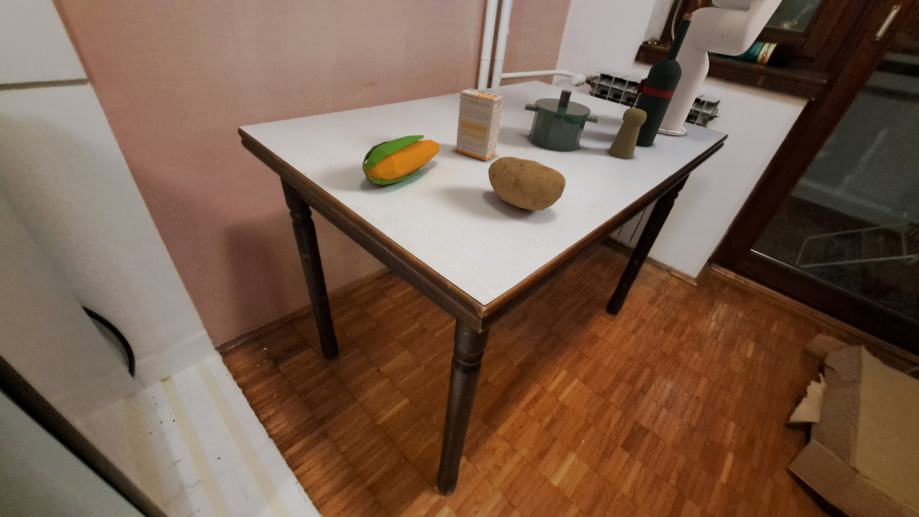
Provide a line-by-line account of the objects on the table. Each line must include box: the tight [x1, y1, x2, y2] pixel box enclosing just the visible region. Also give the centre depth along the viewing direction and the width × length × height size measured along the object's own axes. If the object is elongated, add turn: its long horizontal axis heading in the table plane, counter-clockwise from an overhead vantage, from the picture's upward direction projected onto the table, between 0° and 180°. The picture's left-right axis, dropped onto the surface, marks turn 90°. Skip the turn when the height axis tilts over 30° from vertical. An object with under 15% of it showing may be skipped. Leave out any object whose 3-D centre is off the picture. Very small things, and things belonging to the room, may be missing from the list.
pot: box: [524, 103, 599, 152], centre depth 93 cm, size 13×18×8 cm
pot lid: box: [534, 89, 592, 117], centre depth 89 cm, size 14×14×5 cm
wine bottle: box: [620, 12, 694, 148], centre depth 93 cm, size 8×10×30 cm
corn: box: [361, 134, 441, 186], centre depth 69 cm, size 7×8×20 cm
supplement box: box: [455, 87, 505, 162], centre depth 80 cm, size 8×5×13 cm, turn 57°
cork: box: [608, 107, 647, 160], centre depth 89 cm, size 6×6×11 cm
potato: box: [487, 156, 567, 211], centre depth 64 cm, size 10×14×8 cm
